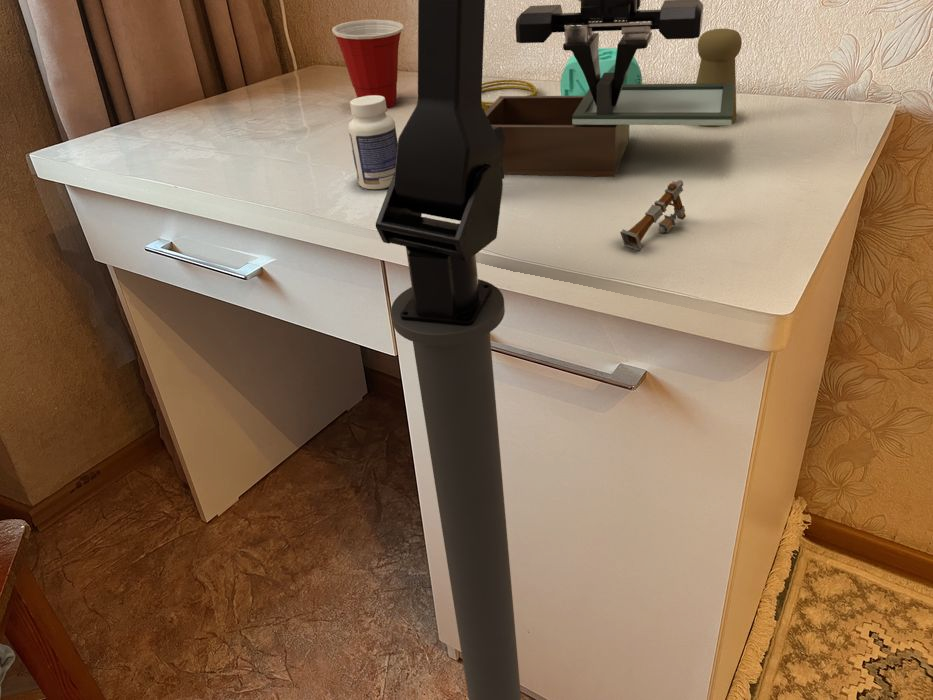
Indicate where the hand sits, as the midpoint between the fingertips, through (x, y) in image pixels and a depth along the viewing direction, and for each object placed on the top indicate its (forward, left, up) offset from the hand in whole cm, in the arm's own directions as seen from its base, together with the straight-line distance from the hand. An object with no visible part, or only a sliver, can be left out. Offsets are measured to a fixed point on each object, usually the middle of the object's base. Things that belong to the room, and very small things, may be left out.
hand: (606, 105), depth 81 cm
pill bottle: (-6, +26, -7) cm, 28 cm away
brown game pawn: (+19, -11, -7) cm, 23 cm away
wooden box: (+4, +7, -7) cm, 11 cm away
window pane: (+4, -5, -1) cm, 6 cm away
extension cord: (+28, +21, -7) cm, 35 cm away
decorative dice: (+21, +4, -7) cm, 22 cm away
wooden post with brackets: (-17, -7, -7) cm, 20 cm away
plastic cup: (+26, +40, -7) cm, 48 cm away
